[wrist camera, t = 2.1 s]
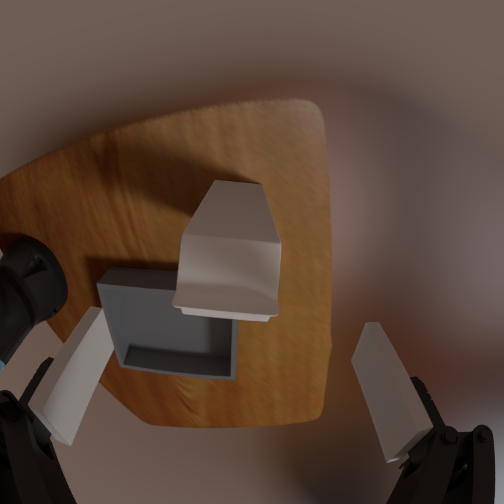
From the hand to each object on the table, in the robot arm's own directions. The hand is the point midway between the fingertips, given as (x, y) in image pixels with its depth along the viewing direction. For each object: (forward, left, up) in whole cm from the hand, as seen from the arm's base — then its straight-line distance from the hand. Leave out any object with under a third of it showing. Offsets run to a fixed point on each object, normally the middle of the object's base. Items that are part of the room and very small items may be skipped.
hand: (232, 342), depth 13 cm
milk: (0, 0, -24) cm, 24 cm away
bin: (-9, -18, -24) cm, 31 cm away
